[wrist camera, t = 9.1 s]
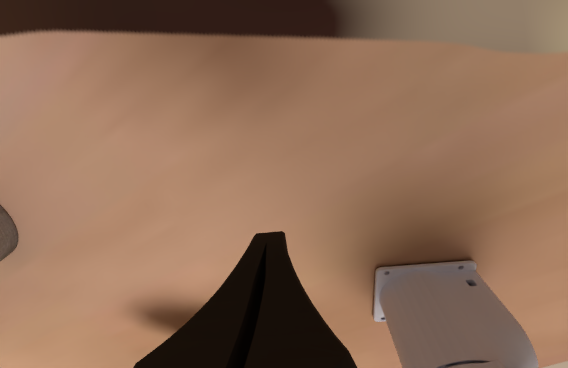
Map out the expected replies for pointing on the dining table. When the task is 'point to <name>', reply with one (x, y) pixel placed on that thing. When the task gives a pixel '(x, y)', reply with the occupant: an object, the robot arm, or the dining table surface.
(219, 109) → the dining table surface
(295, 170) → the dining table surface
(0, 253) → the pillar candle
